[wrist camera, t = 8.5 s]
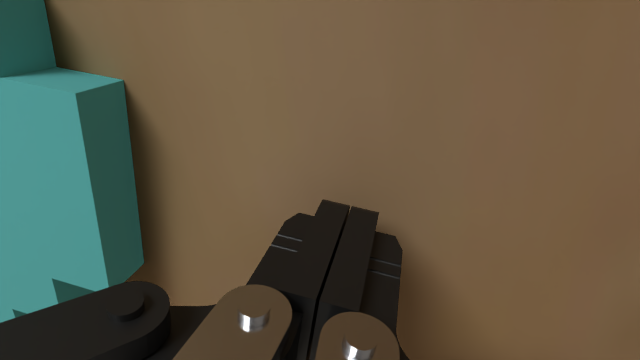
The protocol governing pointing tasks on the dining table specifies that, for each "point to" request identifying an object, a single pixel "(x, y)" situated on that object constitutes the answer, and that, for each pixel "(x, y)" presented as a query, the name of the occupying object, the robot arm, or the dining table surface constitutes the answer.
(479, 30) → the dining table surface
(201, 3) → the dining table surface
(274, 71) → the dining table surface
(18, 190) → the alien figure
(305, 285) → the robot arm
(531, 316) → the dining table surface
